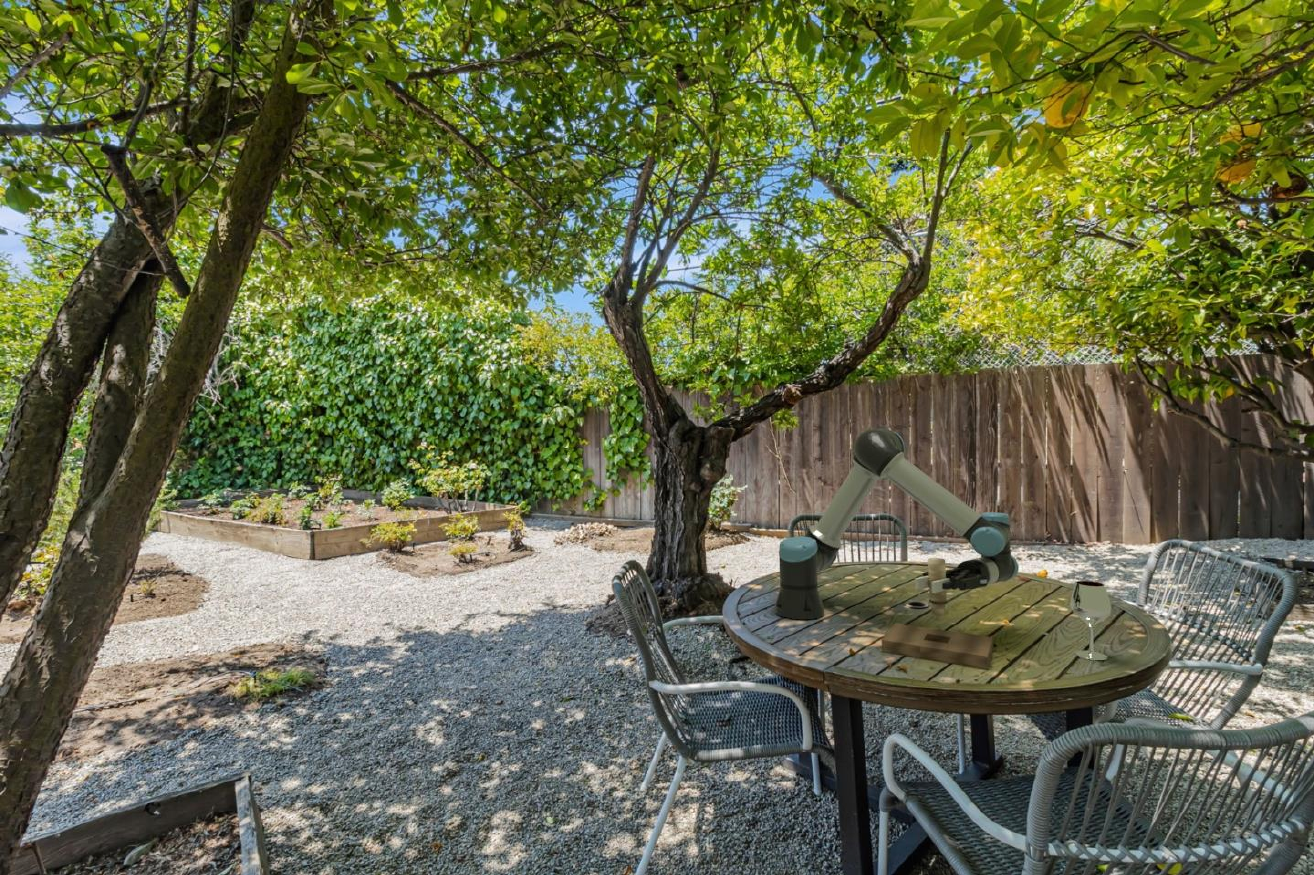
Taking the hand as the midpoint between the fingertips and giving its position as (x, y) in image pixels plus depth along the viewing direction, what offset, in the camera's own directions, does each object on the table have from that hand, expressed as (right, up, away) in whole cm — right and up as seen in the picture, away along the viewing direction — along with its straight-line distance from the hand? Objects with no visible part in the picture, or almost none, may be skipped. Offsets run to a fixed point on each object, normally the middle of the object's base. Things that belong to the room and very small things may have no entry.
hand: (924, 585), depth 150 cm
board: (+5, -17, +3) cm, 18 cm away
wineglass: (+40, -17, -4) cm, 43 cm away
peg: (+5, -8, +3) cm, 10 cm away
